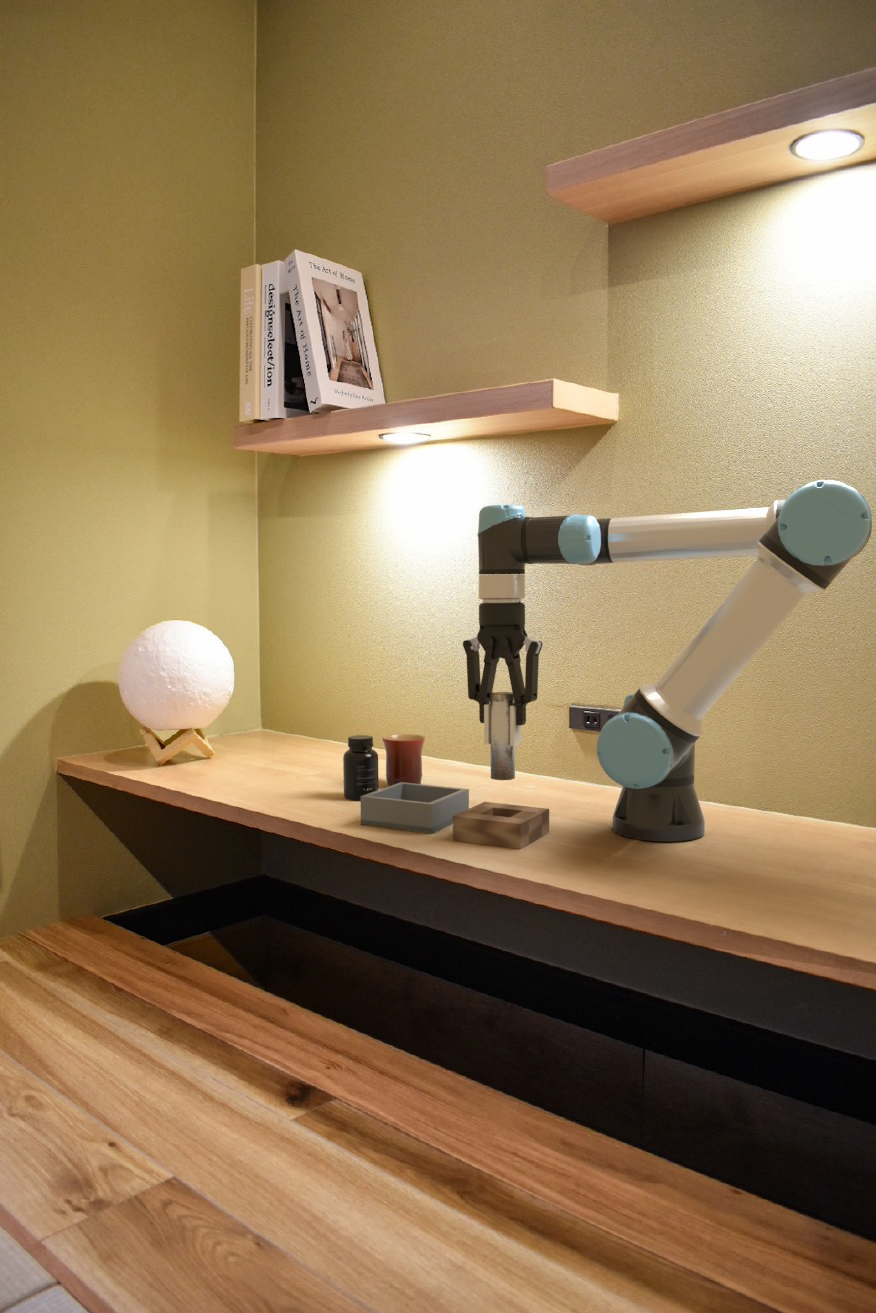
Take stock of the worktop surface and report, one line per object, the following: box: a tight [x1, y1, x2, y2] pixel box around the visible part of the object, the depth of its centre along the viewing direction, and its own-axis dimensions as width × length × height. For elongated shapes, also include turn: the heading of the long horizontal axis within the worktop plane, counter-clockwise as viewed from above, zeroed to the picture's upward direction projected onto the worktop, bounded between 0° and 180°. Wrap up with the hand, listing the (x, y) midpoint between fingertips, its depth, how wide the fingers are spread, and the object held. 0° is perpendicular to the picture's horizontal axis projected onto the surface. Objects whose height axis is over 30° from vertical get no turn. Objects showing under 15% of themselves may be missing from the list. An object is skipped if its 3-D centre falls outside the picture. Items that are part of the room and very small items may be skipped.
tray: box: [360, 782, 470, 835], centre depth 179 cm, size 14×14×5 cm
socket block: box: [452, 801, 550, 850], centre depth 168 cm, size 12×12×4 cm
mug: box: [381, 733, 426, 787], centre depth 210 cm, size 12×9×10 cm
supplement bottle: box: [342, 734, 380, 802], centre depth 198 cm, size 7×7×12 cm
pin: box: [490, 691, 516, 781], centre depth 167 cm, size 4×4×14 cm
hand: (502, 743), depth 167 cm, fingers closed on pin, 4 cm apart
